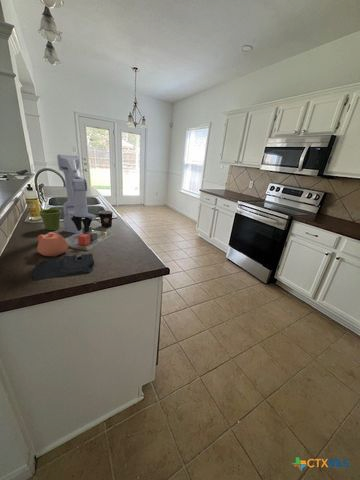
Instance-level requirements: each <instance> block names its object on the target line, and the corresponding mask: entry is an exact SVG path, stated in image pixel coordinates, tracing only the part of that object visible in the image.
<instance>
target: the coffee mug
mask: <svg viewBox="0 0 360 480" xmlns="http://www.w3.org/2000/svg"><path fill="white" fill-rule="evenodd" d="M93 215H96V216H98V218H99V219H100V220H98V219H97V218H96V219H94V220H95V221H97V222H98V223H100V224H101V227H102V228H103V229H109V228H111V227H112V225H113V211H112V210H100V211H99V212H98V213H94V214H93Z"/></svg>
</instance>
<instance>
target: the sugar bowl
mask: <svg viewBox="0 0 360 480" xmlns="http://www.w3.org/2000/svg"><path fill="white" fill-rule="evenodd" d="M37 240H38V241H37V242H38V243H37V252H38V253H39V254H40V255H42V256H45V257H57V256H59V255H62V254H64V253H65V252H67V250H68V249H69V247H68V244H67V242H66V240H65V237H64V236H63V235H61V234H60V233H55V232H54V231H50V232H47V233H46V234H39V235H37Z"/></svg>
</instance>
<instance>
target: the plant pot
mask: <svg viewBox="0 0 360 480" xmlns="http://www.w3.org/2000/svg"><path fill="white" fill-rule="evenodd" d="M61 212H62V210H61V209H56V208H48V209H47V208H46V209H41V210H38V212H37V213H38V214H39V216H40V217H41V220H42V222H43V224H44V228H45V230H47V231H56V230H59V229H60V219H61V217H60V216H61Z"/></svg>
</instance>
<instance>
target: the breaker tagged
mask: <svg viewBox="0 0 360 480" xmlns="http://www.w3.org/2000/svg"><path fill="white" fill-rule="evenodd" d="M88 235H90V240H92V241H93V240H95V239H97V232H90V233H88Z"/></svg>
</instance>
